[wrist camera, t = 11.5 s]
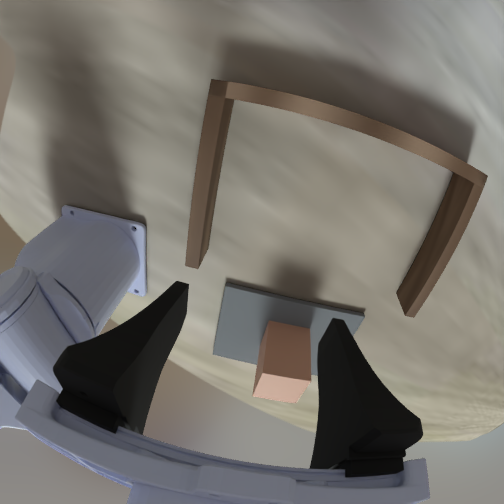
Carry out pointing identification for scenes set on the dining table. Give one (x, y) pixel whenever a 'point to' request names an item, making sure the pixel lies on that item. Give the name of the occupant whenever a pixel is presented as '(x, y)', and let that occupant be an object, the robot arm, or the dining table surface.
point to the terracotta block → (283, 363)
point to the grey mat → (274, 309)
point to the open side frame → (463, 180)
